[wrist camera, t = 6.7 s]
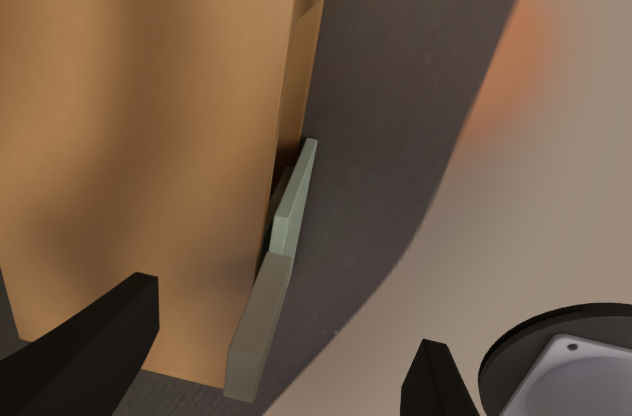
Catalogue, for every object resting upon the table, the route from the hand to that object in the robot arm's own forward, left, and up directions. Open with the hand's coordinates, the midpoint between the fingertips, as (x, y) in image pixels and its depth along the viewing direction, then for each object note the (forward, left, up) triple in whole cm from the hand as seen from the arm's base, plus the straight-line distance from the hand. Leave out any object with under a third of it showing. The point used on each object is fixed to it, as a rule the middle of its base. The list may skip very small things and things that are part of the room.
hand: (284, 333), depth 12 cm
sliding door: (+1, +3, -10) cm, 10 cm away
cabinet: (+7, 0, -10) cm, 12 cm away
